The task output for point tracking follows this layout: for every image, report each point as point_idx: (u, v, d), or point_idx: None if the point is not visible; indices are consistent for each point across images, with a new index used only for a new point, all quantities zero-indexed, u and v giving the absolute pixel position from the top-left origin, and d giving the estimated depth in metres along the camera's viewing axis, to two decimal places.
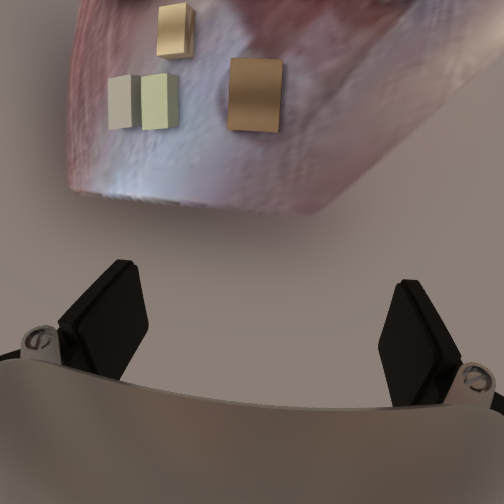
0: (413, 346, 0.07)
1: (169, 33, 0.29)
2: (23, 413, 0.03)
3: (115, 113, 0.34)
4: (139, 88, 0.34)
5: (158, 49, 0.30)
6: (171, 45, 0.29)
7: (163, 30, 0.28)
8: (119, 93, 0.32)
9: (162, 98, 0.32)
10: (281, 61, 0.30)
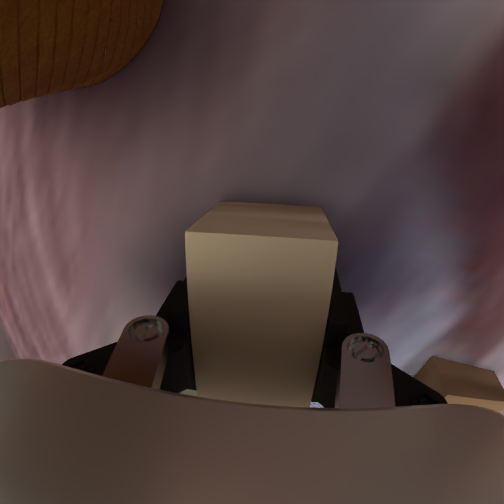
0: None
1: (245, 375, 0.08)
2: (23, 413, 0.03)
3: None
4: None
5: None
6: None
7: (219, 359, 0.08)
8: None
9: None
10: None
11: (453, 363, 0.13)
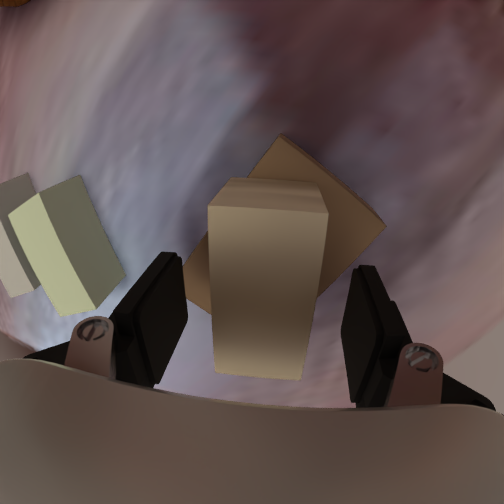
0: (363, 327, 0.08)
1: (254, 322, 0.11)
2: (23, 413, 0.03)
3: (3, 269, 0.15)
4: (22, 203, 0.16)
5: (219, 359, 0.12)
6: (264, 360, 0.11)
7: (233, 309, 0.10)
8: None
9: (56, 250, 0.14)
10: (381, 228, 0.13)
11: (308, 154, 0.14)
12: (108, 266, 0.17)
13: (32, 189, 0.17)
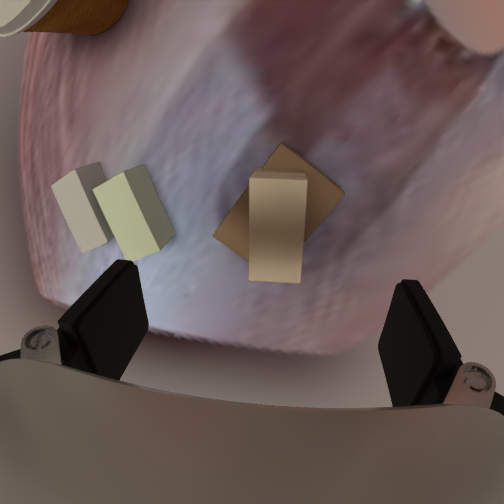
0: (413, 346, 0.07)
1: (272, 242, 0.20)
2: (23, 413, 0.03)
3: (79, 229, 0.24)
4: (97, 182, 0.25)
5: (252, 269, 0.21)
6: (278, 268, 0.21)
7: (261, 234, 0.20)
8: (72, 200, 0.23)
9: (134, 210, 0.23)
10: (342, 194, 0.22)
11: (298, 154, 0.24)
12: (165, 225, 0.26)
13: (102, 173, 0.26)
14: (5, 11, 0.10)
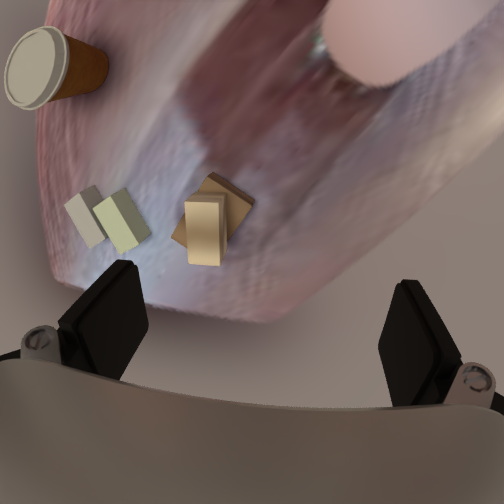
0: (413, 346, 0.07)
1: (200, 240, 0.32)
2: (23, 413, 0.03)
3: (86, 232, 0.36)
4: (95, 199, 0.37)
5: (190, 257, 0.33)
6: (205, 256, 0.33)
7: (193, 235, 0.32)
8: (79, 213, 0.35)
9: (120, 220, 0.35)
10: (250, 207, 0.34)
11: None
12: (142, 227, 0.38)
13: (98, 193, 0.38)
14: (23, 93, 0.21)
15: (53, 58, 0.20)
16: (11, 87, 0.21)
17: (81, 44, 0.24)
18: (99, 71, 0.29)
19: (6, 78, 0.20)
